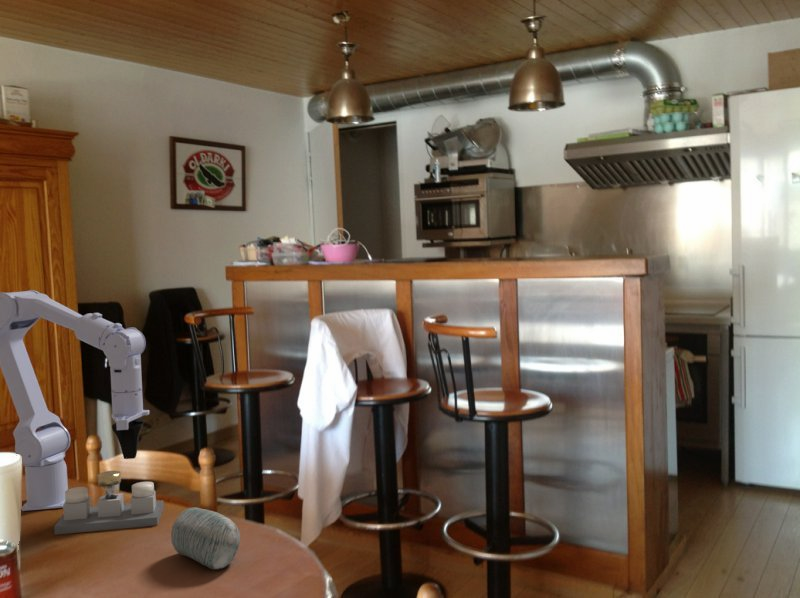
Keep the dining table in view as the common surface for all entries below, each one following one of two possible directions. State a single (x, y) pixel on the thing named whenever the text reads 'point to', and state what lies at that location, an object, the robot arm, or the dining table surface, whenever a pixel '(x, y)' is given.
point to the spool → (206, 537)
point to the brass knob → (109, 482)
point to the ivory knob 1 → (76, 495)
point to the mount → (109, 514)
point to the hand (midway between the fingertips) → (130, 457)
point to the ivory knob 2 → (142, 489)
